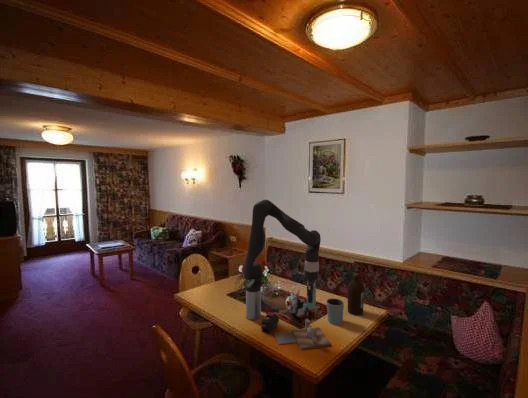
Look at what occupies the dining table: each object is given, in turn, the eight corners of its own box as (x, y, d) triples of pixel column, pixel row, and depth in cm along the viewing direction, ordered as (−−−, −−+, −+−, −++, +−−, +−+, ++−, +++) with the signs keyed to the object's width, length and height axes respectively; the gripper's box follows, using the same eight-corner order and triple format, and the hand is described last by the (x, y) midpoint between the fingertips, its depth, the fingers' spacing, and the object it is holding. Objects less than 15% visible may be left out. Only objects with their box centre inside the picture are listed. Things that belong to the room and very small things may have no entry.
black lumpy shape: (272, 334, 154) (272, 322, 154) (260, 332, 157) (260, 320, 156) (278, 326, 163) (279, 314, 163) (267, 323, 166) (267, 312, 166)
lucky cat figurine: (307, 319, 170) (297, 301, 167) (290, 323, 175) (280, 306, 172) (310, 302, 184) (301, 285, 181) (294, 306, 188) (285, 290, 186)
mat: (274, 334, 154) (274, 333, 154) (291, 332, 156) (291, 331, 156) (278, 344, 145) (278, 343, 145) (297, 342, 147) (297, 341, 147)
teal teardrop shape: (302, 307, 148) (302, 288, 147) (304, 303, 153) (304, 284, 152) (318, 310, 145) (318, 290, 145) (320, 305, 150) (320, 286, 149)
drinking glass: (340, 327, 162) (341, 306, 161) (323, 322, 167) (324, 302, 166) (345, 319, 171) (345, 300, 170) (329, 315, 176) (329, 296, 175)
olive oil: (345, 313, 178) (346, 275, 176) (348, 306, 188) (349, 270, 186) (362, 317, 173) (363, 277, 171) (365, 310, 183) (366, 272, 181)
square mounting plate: (291, 332, 156) (291, 318, 156) (318, 329, 160) (319, 315, 159) (301, 349, 141) (301, 334, 140) (330, 345, 144) (331, 330, 143)
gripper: (306, 264, 155) (306, 294, 157) (302, 272, 142) (301, 305, 143) (320, 265, 153) (320, 295, 154) (316, 274, 139) (316, 307, 141)
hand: (311, 300), depth 149 cm, fingers closed on teal teardrop shape, 4 cm apart
